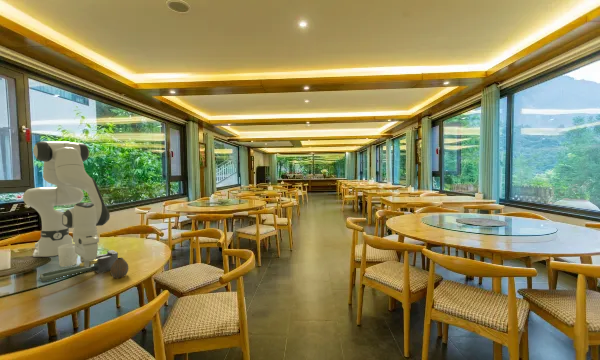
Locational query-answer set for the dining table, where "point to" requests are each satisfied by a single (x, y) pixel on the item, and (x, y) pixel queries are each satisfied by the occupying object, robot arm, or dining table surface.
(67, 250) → the white cup
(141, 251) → the dining table surface
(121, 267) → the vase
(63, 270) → the tray
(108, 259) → the hitch block
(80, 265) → the hitch pin
